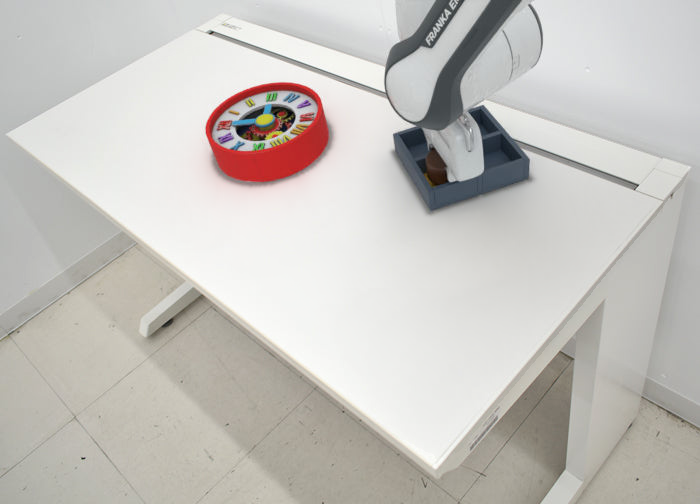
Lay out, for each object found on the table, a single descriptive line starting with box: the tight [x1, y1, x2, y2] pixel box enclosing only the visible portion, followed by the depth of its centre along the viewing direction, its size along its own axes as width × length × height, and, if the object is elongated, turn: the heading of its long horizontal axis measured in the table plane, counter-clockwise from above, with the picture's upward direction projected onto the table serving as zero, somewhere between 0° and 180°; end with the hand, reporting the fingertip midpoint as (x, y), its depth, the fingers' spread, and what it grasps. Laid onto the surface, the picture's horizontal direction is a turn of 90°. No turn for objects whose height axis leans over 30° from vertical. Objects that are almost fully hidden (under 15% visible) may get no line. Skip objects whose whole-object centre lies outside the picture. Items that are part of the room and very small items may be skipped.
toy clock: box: [204, 81, 330, 183], centre depth 103 cm, size 20×6×20 cm
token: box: [426, 149, 449, 185], centre depth 88 cm, size 5×5×3 cm
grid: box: [392, 104, 531, 212], centre depth 92 cm, size 15×15×4 cm
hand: (444, 165), depth 88 cm, fingers closed on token, 5 cm apart
